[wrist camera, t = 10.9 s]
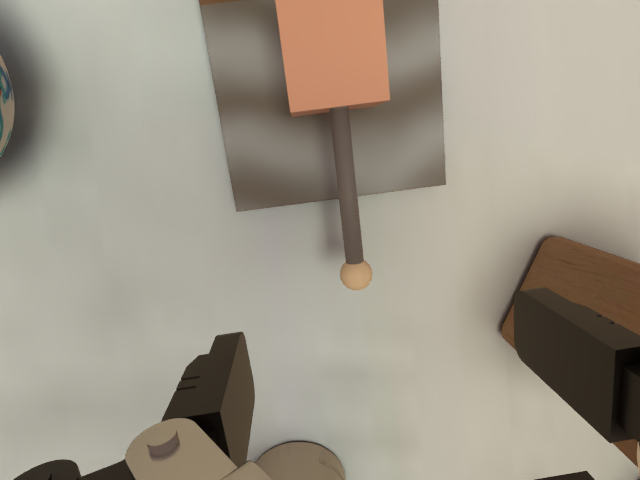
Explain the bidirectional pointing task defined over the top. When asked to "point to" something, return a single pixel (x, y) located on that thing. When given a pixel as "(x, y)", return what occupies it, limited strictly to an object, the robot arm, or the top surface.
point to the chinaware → (5, 107)
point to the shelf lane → (315, 130)
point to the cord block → (337, 90)
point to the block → (587, 290)
